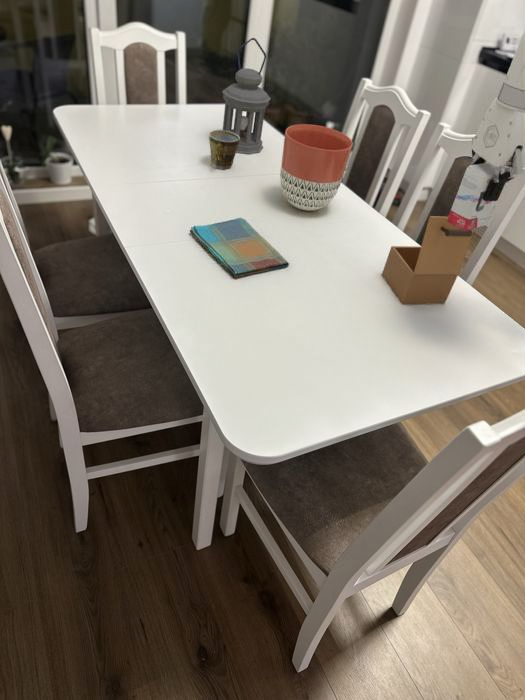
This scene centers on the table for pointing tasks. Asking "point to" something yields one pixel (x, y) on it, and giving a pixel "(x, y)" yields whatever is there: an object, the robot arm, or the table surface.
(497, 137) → the robot arm
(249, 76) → the lantern
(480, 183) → the ink box
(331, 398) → the table surface
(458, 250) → the flap
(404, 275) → the carton
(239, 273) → the dish towel
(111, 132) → the table surface
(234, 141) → the ceramic cup
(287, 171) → the planter
